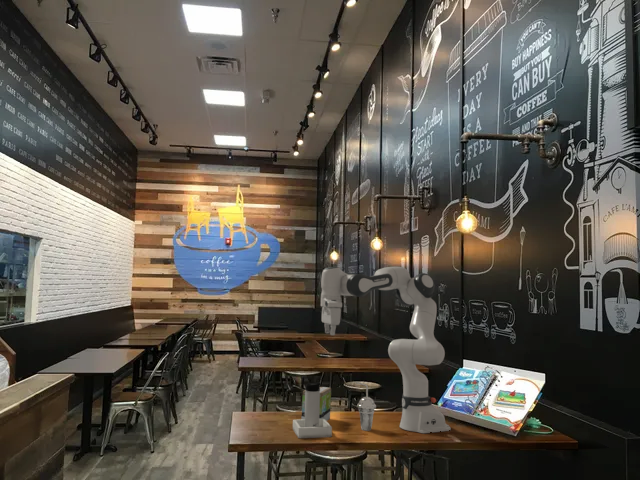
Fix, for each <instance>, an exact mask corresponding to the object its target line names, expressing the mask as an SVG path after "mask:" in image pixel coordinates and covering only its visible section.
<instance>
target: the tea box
mask: <svg viewBox="0 0 640 480" xmlns="http://www.w3.org/2000/svg"><path fill="white" fill-rule="evenodd" d="M305 392H306V391H305V389H304V390H302V397H301V398H302V400H301V401H302V402H301V417H300V418H301V419H305ZM331 397H332V387H326V386H320V409H319V419H325V420H326V421H327V422H328V421H329V420H330V418H331V403H332V401H331V400H332V398H331Z"/></svg>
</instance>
